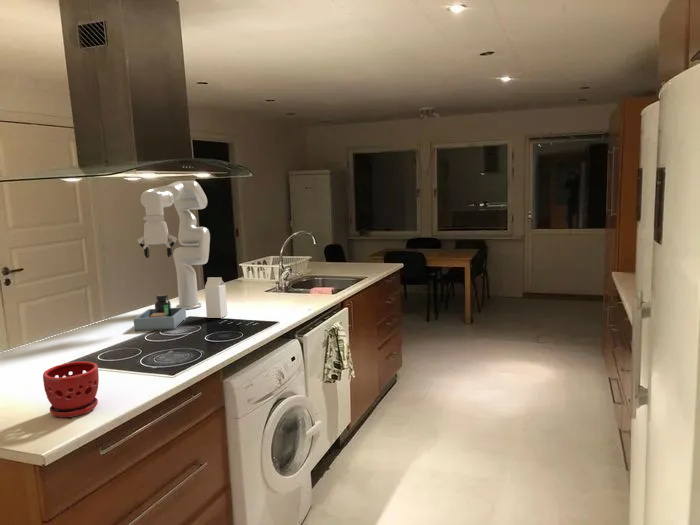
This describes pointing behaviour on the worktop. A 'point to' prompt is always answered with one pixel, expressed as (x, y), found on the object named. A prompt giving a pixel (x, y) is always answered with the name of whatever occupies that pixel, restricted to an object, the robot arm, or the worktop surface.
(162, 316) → the tan wooden block
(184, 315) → the box
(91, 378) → the plant pot
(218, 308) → the milk carton
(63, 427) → the worktop surface
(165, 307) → the supplement bottle
